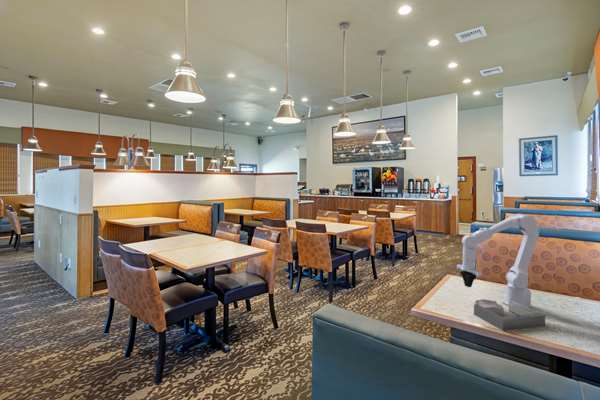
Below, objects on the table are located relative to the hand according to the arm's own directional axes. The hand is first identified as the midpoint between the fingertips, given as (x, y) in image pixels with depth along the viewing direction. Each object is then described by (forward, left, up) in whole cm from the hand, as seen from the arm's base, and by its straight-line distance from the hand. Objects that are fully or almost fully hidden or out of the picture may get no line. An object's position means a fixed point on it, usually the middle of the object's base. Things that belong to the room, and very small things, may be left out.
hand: (468, 286), depth 153 cm
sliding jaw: (-11, +21, -7) cm, 24 cm away
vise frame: (-2, +22, -7) cm, 23 cm away
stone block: (-1, +12, -8) cm, 14 cm away
